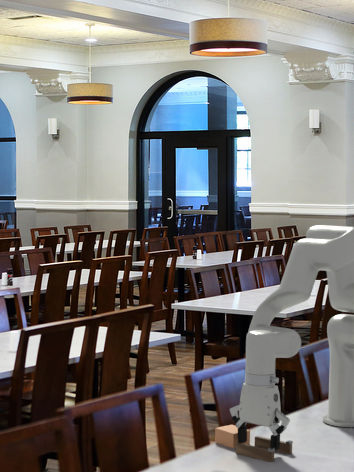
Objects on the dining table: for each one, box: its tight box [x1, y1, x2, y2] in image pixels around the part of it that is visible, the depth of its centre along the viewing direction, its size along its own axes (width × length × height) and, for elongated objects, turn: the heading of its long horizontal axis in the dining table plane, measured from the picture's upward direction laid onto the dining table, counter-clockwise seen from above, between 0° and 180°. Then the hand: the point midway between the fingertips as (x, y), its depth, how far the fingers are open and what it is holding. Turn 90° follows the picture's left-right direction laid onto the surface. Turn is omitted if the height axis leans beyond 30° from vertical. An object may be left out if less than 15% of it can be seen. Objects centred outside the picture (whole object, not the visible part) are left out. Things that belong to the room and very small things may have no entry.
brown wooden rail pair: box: [235, 435, 294, 463], centre depth 217 cm, size 10×10×3 cm
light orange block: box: [214, 424, 251, 449], centre depth 226 cm, size 6×7×4 cm
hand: (258, 446), depth 218 cm, fingers open, 9 cm apart
